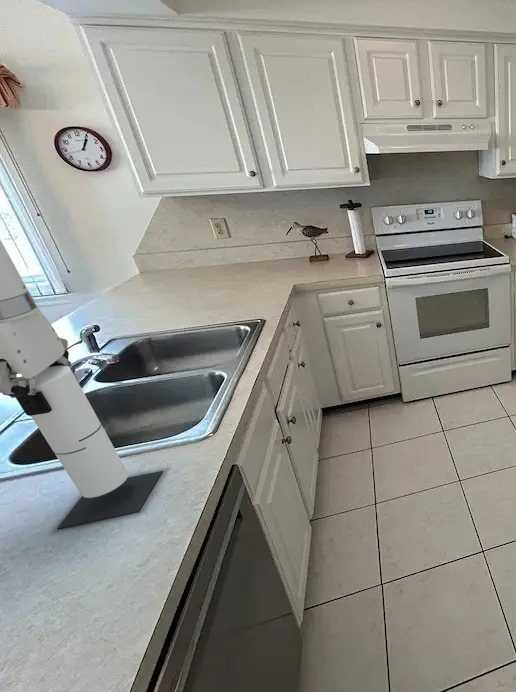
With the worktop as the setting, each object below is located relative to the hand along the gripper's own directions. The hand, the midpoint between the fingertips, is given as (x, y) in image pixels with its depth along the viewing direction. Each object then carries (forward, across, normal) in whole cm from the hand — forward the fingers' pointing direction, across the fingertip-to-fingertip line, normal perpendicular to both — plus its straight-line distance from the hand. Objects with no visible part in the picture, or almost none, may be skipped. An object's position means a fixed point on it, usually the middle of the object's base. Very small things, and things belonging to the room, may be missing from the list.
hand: (55, 399), depth 73 cm
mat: (+24, 0, 0) cm, 24 cm away
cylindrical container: (+20, 0, 0) cm, 20 cm away
